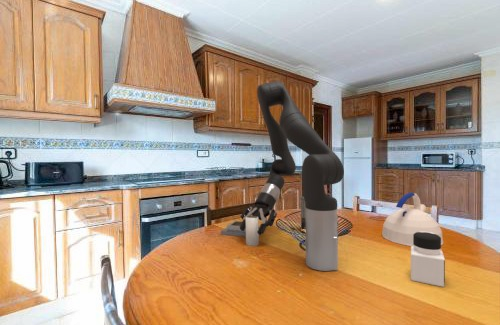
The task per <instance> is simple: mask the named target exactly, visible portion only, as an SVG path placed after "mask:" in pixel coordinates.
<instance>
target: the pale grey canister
mask: <svg viewBox="0 0 500 325" xmlns="http://www.w3.org/2000/svg"><path fill="white" fill-rule="evenodd" d="M259 223H260V222H259V219H258V217H257V216H252V215H251V216H247V217H246V237H245V245H246V246H248V247H256V246H259V244H260V241H259V240H260V239H259V237H260V235H259V234H258V233H257V231H258V229H259V227H260V225H259Z"/></svg>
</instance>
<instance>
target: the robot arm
mask: <svg viewBox="0 0 500 325" xmlns="http://www.w3.org/2000/svg"><path fill="white" fill-rule="evenodd" d="M256 94H257V100H258V104H259V107H260V112H261V114H262V116H263V121H264V123H265V126H266V129H267V133H268V137H269V141H270V147H271V152H272V155H274V156H276V157H279V159H278V158H277V159H274V160H273V162H272V163H271V165H270V170H269V175H268V178H267V179H266V182H265V183H264V185H263V187H262V188H261V190H260V192H259V194H258V195H257V197H256V199H255V200H254V205H253V206H250V205H246V207H245V208H244V210H243V211H242V213H241V215H240V218H241V219H242V220H241V221H242V223H241V225H240V229H241V231H244V230H245V228H246V217H247V216H257V217H258V221H261V223H260V225H259V229H258V231H257V233H258V234H259V236H262V235H263V234H264V233H265V231H266V229H267V228H268V227H270V228H271V227H272V226H274V223H275V220H276V218H277V216H278V213H277V211H276V210H275V209H274V207H275V205H276V203H277V201H278V199H279V196H280V194H281V192H282V189H283V188H284V185H285V182H286V181H285V178H283V177H282V176H289V177H290V176H293V175H294V174H295V172H296V170H297V168H296V166H297V165H296V163H295V159H294V158H293V156H292V153H291V151H290V148H289V144H288V141H289V142H290V143H291V144H293V145H294V146H295V147H297V148H298V149H300V150H301V151H303V152H305V154H307V156H306V157H305V158H304V159H303V162H302V167H301V179H302V181H301V182H302V195H303V196H304V200H305V218H306V233H305V264H306V266H307V267H309V268H310V269H313V270H315V271H320V272H321V271H322V272H330V271H338V268H339V264H338V263H339V248H338V247H339V246H338V245H339V244H338V243H339V241H338V240H339V238H338V237H339V236H338V234H339V232H338V225H337V222H338V200H337V199H336V198H335V197H334V196H331V195H328V194H327V193H326V192H325V186H331V185H335V184H338V183H340V182H341V181H342V180H343V179H344V175H345V171H344V170H345V169H344V165H343V162H342V161H341V159H340V157H339V156H338V155H337V154H336V152H334V150H332V149H331V148H330V147H329V146H328V145H327V144H326V142H324V140H323V139H322V138H321V137H320V135H319V134H318V133H317V131H316V130H315V129H314V128H313V127H312V125H311V123H310V122H309V120H308V119H307V117H306V116H305V114H304V113H303V112H302V111H301V110H300V108H299V107H298V106H297V105H296V103H295V101H294V100H293V98H292V96H291V94H290V93H289V91H288V89H287V87H286V86H285V84H284V83H283V82H282V81H280V80H276V81H271V82H267V83H261V84H259V85H258V87H257V88H256ZM278 105H279V106H280V105H281V106H282V110H281V113H280V115H279V121H278V122H279V123H278V122H277V121H276V120H275V117H273V115H272V113H271V109H270V107H274V106H278ZM303 196H302V197H303Z"/></svg>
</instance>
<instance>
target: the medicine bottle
mask: <svg viewBox="0 0 500 325" xmlns="http://www.w3.org/2000/svg"><path fill="white" fill-rule="evenodd" d="M445 271H446V259H445V256H444V253H443V250H442V245H441V237H440V236H438V235H436V234H434V233H430V232H416V233H414V234H413V246H410V280H411V281H412V282H417V283H423V284H427V285H431V286H437V287H442V288H445V286H446V281H445V280H446V279H445V278H446V277H445V276H446V272H445Z"/></svg>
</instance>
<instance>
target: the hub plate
mask: <svg viewBox="0 0 500 325" xmlns="http://www.w3.org/2000/svg"><path fill="white" fill-rule="evenodd" d="M242 221H243V220H234V221H232V222H231V223H228V224H227V225H226V227H225V228H223V229H222V230H221V231H220V235H225V236H235V237H242V238H243V237H244V238H246V228H245V230H244V231H241V229H240V225H241V223H242Z"/></svg>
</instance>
